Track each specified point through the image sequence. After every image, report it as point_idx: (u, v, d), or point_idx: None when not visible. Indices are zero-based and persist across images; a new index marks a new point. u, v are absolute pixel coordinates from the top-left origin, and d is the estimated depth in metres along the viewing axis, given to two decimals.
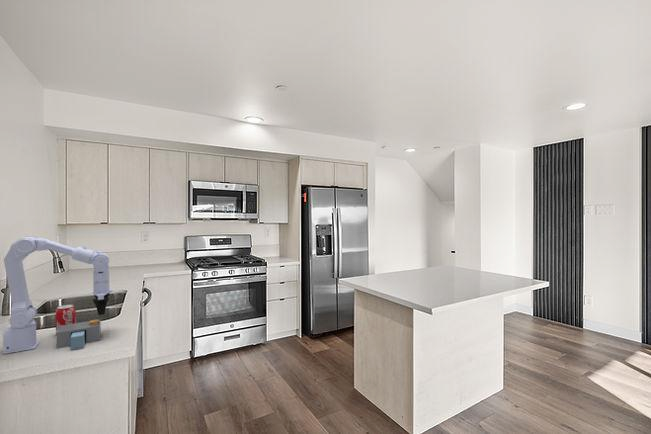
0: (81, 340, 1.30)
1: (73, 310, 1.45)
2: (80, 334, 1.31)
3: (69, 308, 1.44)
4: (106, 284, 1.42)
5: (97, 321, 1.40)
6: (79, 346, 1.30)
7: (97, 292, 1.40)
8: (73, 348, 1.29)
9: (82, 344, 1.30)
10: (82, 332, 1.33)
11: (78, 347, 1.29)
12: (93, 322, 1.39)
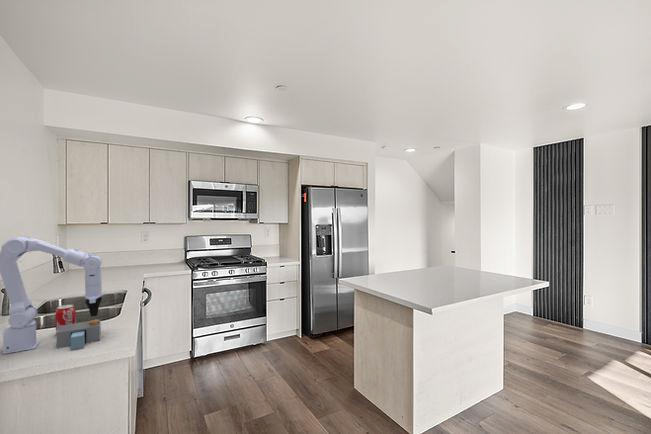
0: (81, 340, 1.30)
1: (73, 310, 1.45)
2: (80, 334, 1.31)
3: (69, 308, 1.44)
4: (98, 287, 1.39)
5: (97, 321, 1.40)
6: (79, 346, 1.30)
7: (89, 295, 1.37)
8: (73, 348, 1.29)
9: (82, 344, 1.30)
10: (82, 332, 1.33)
11: (78, 347, 1.29)
12: (93, 322, 1.39)
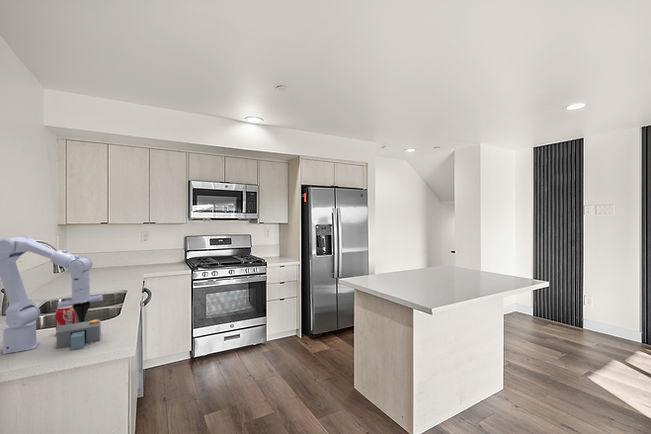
0: (81, 340, 1.30)
1: (73, 310, 1.45)
2: (80, 334, 1.31)
3: (69, 308, 1.44)
4: (75, 293, 1.30)
5: (97, 321, 1.40)
6: (79, 346, 1.30)
7: (72, 299, 1.31)
8: (73, 348, 1.29)
9: (82, 344, 1.30)
10: (82, 332, 1.33)
11: (78, 347, 1.29)
12: (93, 322, 1.39)
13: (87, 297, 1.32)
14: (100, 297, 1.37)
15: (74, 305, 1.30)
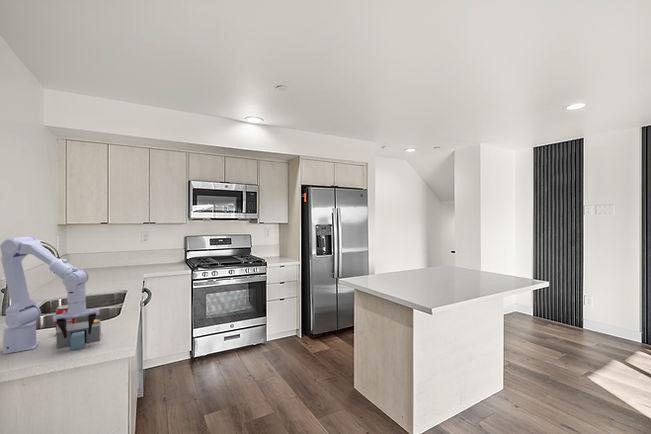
0: (81, 340, 1.30)
1: None
2: (80, 334, 1.31)
3: None
4: (69, 306, 1.27)
5: (97, 321, 1.40)
6: (79, 346, 1.30)
7: None
8: (73, 348, 1.29)
9: (82, 344, 1.30)
10: (82, 332, 1.33)
11: (78, 347, 1.29)
12: (93, 322, 1.39)
13: (81, 311, 1.29)
14: (96, 311, 1.33)
15: None
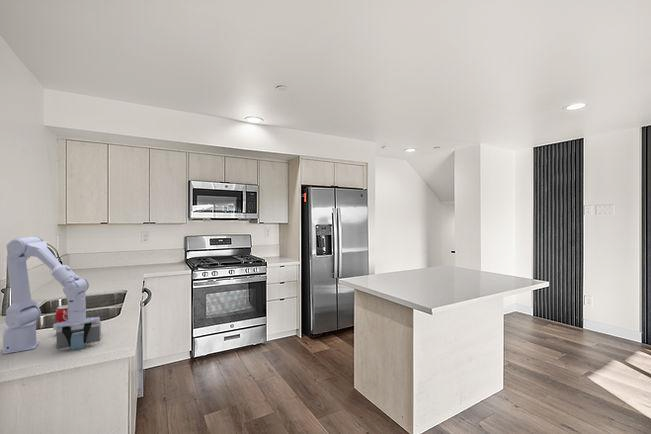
0: (81, 340, 1.30)
1: None
2: (80, 334, 1.31)
3: None
4: (69, 315, 1.27)
5: None
6: (79, 346, 1.30)
7: None
8: (73, 348, 1.29)
9: (82, 344, 1.30)
10: (82, 332, 1.33)
11: (78, 347, 1.29)
12: None
13: (81, 320, 1.29)
14: (96, 319, 1.33)
15: (69, 327, 1.28)
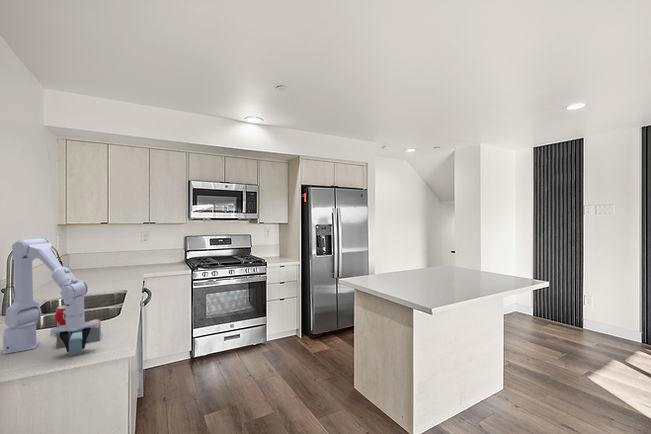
0: (79, 345, 1.25)
1: None
2: (78, 339, 1.26)
3: None
4: (67, 319, 1.22)
5: None
6: (77, 352, 1.25)
7: None
8: (71, 354, 1.24)
9: (81, 350, 1.25)
10: (81, 337, 1.28)
11: (76, 353, 1.24)
12: None
13: (80, 324, 1.24)
14: (95, 324, 1.28)
15: (67, 332, 1.23)
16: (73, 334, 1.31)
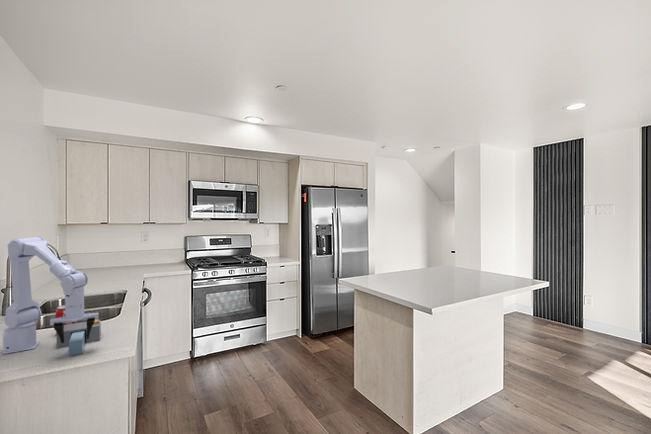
0: (79, 345, 1.25)
1: None
2: (78, 339, 1.26)
3: None
4: (67, 310, 1.22)
5: (97, 321, 1.40)
6: (77, 352, 1.25)
7: None
8: (71, 354, 1.24)
9: (81, 350, 1.25)
10: (81, 337, 1.28)
11: (76, 353, 1.24)
12: None
13: (79, 315, 1.24)
14: (95, 315, 1.28)
15: None
16: (73, 334, 1.31)
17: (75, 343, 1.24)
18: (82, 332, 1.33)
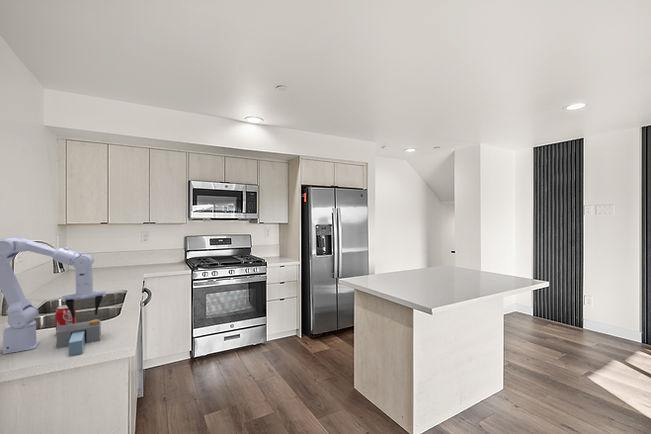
0: (79, 345, 1.25)
1: None
2: (78, 339, 1.26)
3: None
4: (77, 288, 1.34)
5: (97, 321, 1.40)
6: (77, 352, 1.25)
7: None
8: (71, 354, 1.24)
9: (81, 350, 1.25)
10: (81, 337, 1.28)
11: (76, 353, 1.24)
12: (93, 322, 1.39)
13: (88, 292, 1.36)
14: (102, 293, 1.40)
15: None
16: (73, 334, 1.31)
17: (75, 343, 1.24)
18: (82, 332, 1.33)
